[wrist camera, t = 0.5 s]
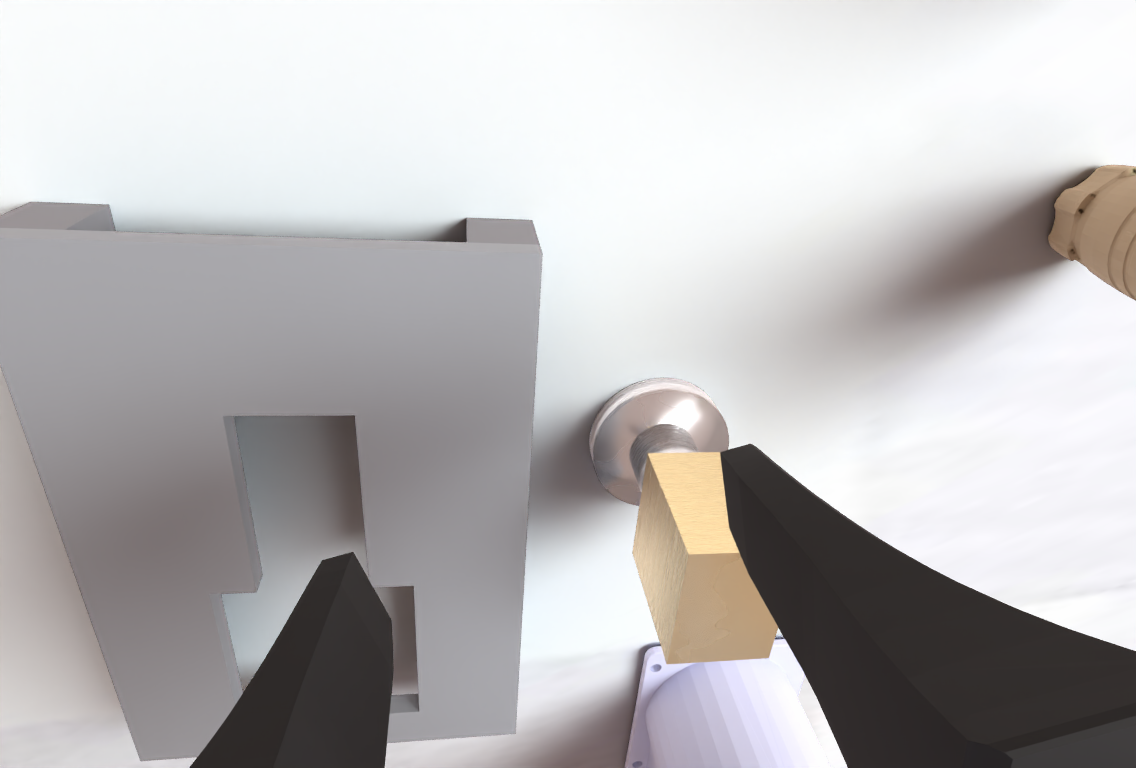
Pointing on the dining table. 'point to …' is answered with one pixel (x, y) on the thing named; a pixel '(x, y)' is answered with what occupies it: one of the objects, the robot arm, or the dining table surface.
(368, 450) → the keyhole board
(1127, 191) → the handle
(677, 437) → the keyhole peg
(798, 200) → the dining table surface
